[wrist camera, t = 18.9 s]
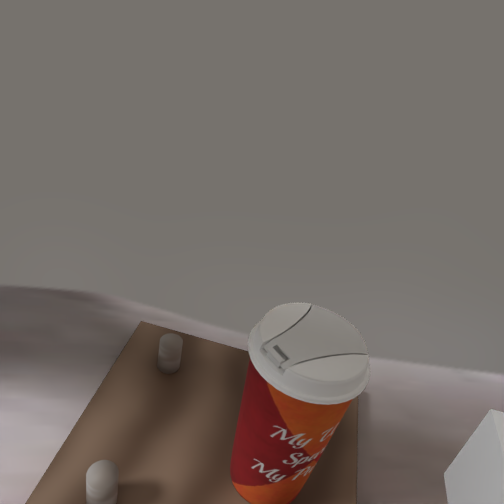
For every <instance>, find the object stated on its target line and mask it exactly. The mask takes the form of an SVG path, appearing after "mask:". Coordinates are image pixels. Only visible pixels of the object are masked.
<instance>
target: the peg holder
mask: <svg viewBox="0 0 504 504" xmlns="http://www.w3.org/2000/svg"><path fill="white" fill-rule="evenodd" d="M249 359H250V355H249V352H248V351H244V350H241V349H237V348H234V347H230V346H227V345H223V344H220V343H216V342H213V341H209V340H206V339H202V338H199V337H195V336H192V335H188V334H185V333H181V332H178V331H174V330H171V329H167V328H163V327H160V326H156V325H153V324H149V323H146V322H142V321H141V322H140V324H139V325H138V327H137V328H136V330H135V332H134V333H133V335H132V336H131V338H130V339H129V341H128V343H127V344H126V346H125V347H124V349H123V350H122V352H121V354H120V355H119V357H118V358H117V360H116V361H115V363H114V365H113V366H112V368H111V369H110V371H109V372H108V374H107V376H106V377H105V379H104V380H103V382H102V384H101V385H100V387H99V388H98V390H97V391H96V393H95V395H94V396H93V398H92V399H91V401H90V402H89V404H88V406H87V407H86V409H85V410H84V412H83V413H82V415H81V417H80V418H79V420H78V421H77V423H76V425H75V426H74V428H73V429H72V431H71V432H70V434H69V436H68V437H67V439H66V440H65V442H64V443H63V445H62V447H61V448H60V450H59V451H58V453H57V454H56V456H55V458H54V459H53V461H52V462H51V464H50V466H49V467H48V469H47V470H46V472H45V473H44V475H43V477H42V478H41V480H40V481H39V483H38V484H37V486H36V488H35V489H34V491H33V492H32V494H31V495H30V497H29V499H28V500H27V502H26V503H25V504H250V503H249V502H247V501H246V500H245V499H244V498H242V497H241V496H240V494H239V493H238V492H237V490H236V489H235V487H234V485H233V483H232V480H231V475H230V463H231V456H232V449H233V444H234V438H235V433H236V427H237V422H238V417H239V411H240V406H241V401H242V396H243V390H244V385H245V380H246V375H247V370H248V365H249ZM357 433H358V396H356V397H355V398H354V399H353V400H352V401H351V403H350V405H349V407H348V408H347V410H346V412H345V414H344V416H343V417H342V419H341V421H340V423H339V424H338V426H337V428H336V430H335V432H334V433H333V435H332V437H331V439H330V440H329V442H328V444H327V446H326V448H325V449H324V451H323V453H322V455H321V456H320V458H319V460H318V462H317V463H316V465H315V467H314V469H313V470H312V472H311V474H310V476H309V477H308V479H307V481H306V482H305V484H304V486H303V487H302V489H301V491H300V492H299V494H298V495H297V496H296V498H295V499H294V500H293V501H292V502H291V503H289V504H356V495H357Z"/></svg>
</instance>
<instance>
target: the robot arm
mask: <svg viewBox="0 0 504 504" xmlns="http://www.w3.org/2000/svg"><path fill="white" fill-rule="evenodd" d="M444 480H445V487H446V494H447V500H448V504H504V412H500V411H497V410H494V409H490V411H489V412H488V413H487V415H486V416H485V417H484V419H483V420H482V422H481V423H480V424H479V426H478V427H477V428H476V430H475V431H474V433H473V434H472V435H471V437H470V438H469V440H468V441H467V442H466V444H465V445H464V446H463V448H462V449H461V451H460V452H459V453H458V455H457V456H456V457H455V459H454V460H453V462H452V463H451V464H450V466H449V467H448V469H447V470H446V471H445V473H444Z"/></svg>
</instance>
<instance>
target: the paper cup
mask: <svg viewBox="0 0 504 504" xmlns="http://www.w3.org/2000/svg"><path fill="white" fill-rule="evenodd" d="M311 306H312V307H311ZM248 352H249V355H250V359H249V365H248V370H247V375H246V380H245V385H244V390H243V396H242V401H241V406H240V411H239V417H238V422H237V427H236V433H235V438H234V444H233V449H232V456H231V463H230V475H231V480H232V483H233V485H234V487H235V489H236V490H237V492H238V493H239V494H240V496H241V497H242V498H244V499H245V500H246V501H247V502H249V503H250V504H289V503H291V502H292V501H293V500H294V499H295V498H296V496H297V495H298V494H299V492H300V491H301V489H302V487H303V486H304V484H305V482H306V481H307V479H308V477H309V476H310V474H311V472H312V470H313V469H314V467H315V465H316V463H317V462H318V460H319V458H320V456H321V455H322V453H323V451H324V449H325V448H326V446H327V444H328V442H329V440H330V439H331V437H332V435H333V433H334V432H335V430H336V428H337V426H338V424H339V423H340V421H341V419H342V417H343V416H344V414H345V412H346V410H347V408H348V407H349V405H350V403H351V401H352V400H353V399H354V398H355V397H356V396H358V395H359V394H360V393H361V392H362V391H363V390H364V389H365V387H366V385H367V383H368V381H369V377H370V365H369V356H368V351H367V347H366V344H365V341H364V339H363V337H362V335H361V334H360V332H359V331H358V330H357V329H356V328H355V327H354V326H353V325H352V324H351V323H350V322H348V321H347V320H346V319H345V318H343V317H342V316H340V315H339V314H337V313H335V312H333V311H331V310H328V309H326V308H323V307H320V306H317V305H314V304H310V303H287V304H282V305H279V306H277V307H275V308H273V309H271V310H270V311H269V312H267V313H266V314H265V315H264V317H263V318H262V320H260V321H259V322H258V323H257V324H256V325H255V326H254V327H253V329H252V331H251V332H250V335H249V338H248Z"/></svg>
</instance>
